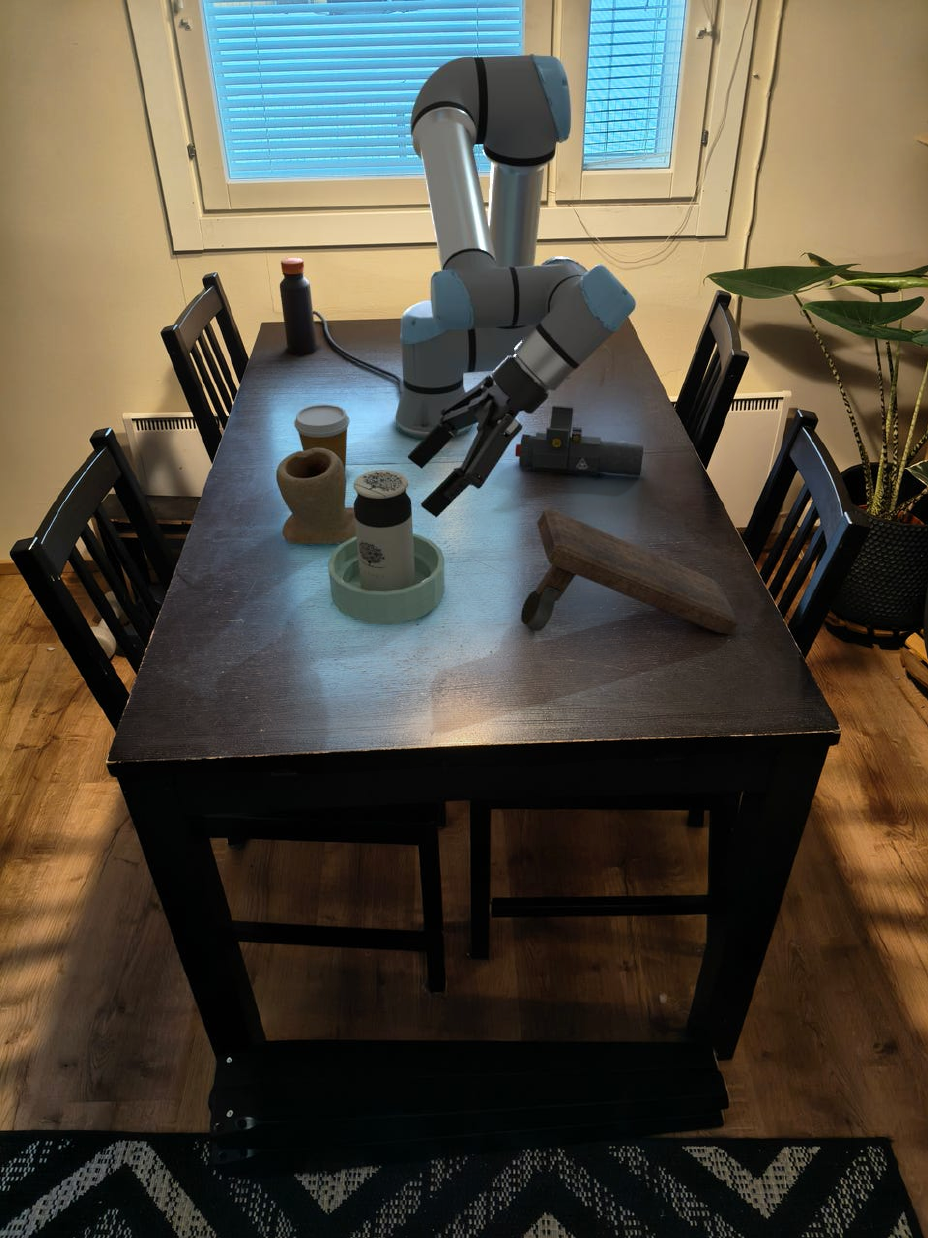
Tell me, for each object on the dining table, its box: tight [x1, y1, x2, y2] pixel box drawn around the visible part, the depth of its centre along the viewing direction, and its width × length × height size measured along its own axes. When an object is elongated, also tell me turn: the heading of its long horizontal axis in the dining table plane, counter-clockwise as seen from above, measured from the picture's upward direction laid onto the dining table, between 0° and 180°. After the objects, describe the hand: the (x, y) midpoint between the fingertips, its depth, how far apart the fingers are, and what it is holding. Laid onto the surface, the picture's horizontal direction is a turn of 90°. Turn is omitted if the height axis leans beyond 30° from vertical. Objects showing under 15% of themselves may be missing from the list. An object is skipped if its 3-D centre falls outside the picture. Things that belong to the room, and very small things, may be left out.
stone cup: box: [275, 448, 356, 546], centre depth 144 cm, size 15×12×15 cm
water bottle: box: [279, 257, 318, 355], centre depth 208 cm, size 7×7×20 cm
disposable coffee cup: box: [293, 403, 351, 471], centre depth 161 cm, size 10×10×12 cm
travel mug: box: [353, 469, 415, 591], centre depth 130 cm, size 8×8×18 cm
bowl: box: [327, 532, 446, 626], centre depth 134 cm, size 17×17×6 cm
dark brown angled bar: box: [520, 507, 739, 635], centre depth 128 cm, size 10×16×30 cm
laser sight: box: [514, 405, 645, 477], centre depth 163 cm, size 10×22×10 cm, turn 79°
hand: (421, 485), depth 126 cm, fingers open, 13 cm apart
